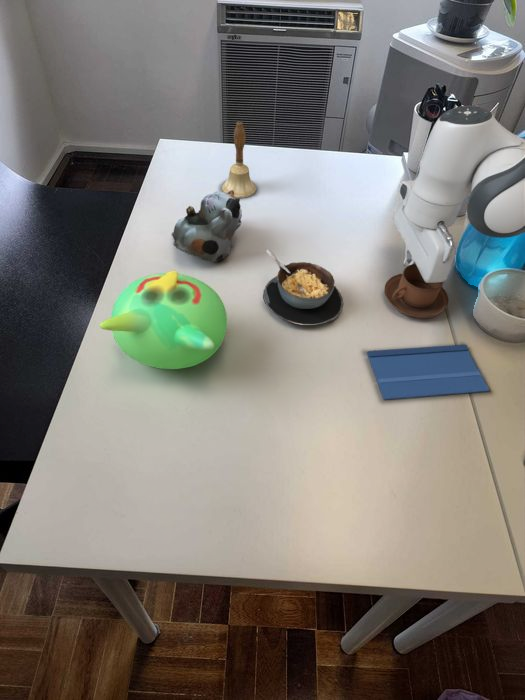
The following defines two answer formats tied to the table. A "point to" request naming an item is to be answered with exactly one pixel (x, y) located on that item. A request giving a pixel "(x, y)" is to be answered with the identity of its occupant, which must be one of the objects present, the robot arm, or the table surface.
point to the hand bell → (239, 169)
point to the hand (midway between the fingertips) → (409, 269)
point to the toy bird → (168, 321)
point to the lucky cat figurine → (209, 227)
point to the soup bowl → (303, 293)
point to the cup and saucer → (415, 294)
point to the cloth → (426, 372)
